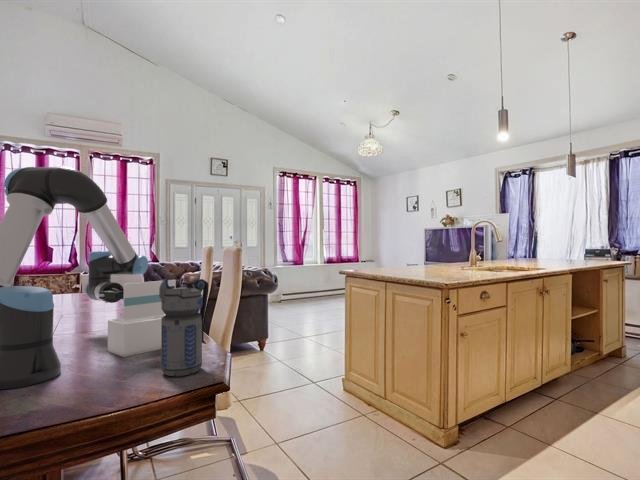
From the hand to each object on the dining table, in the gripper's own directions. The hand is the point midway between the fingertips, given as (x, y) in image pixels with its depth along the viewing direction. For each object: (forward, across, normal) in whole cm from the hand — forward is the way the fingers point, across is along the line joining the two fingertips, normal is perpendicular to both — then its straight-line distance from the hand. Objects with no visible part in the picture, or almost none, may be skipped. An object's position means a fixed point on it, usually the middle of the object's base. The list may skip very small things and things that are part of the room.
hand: (138, 296), depth 121 cm
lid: (+9, 0, 0) cm, 9 cm away
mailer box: (+2, 0, -17) cm, 17 cm away
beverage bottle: (+35, +3, -17) cm, 39 cm away
